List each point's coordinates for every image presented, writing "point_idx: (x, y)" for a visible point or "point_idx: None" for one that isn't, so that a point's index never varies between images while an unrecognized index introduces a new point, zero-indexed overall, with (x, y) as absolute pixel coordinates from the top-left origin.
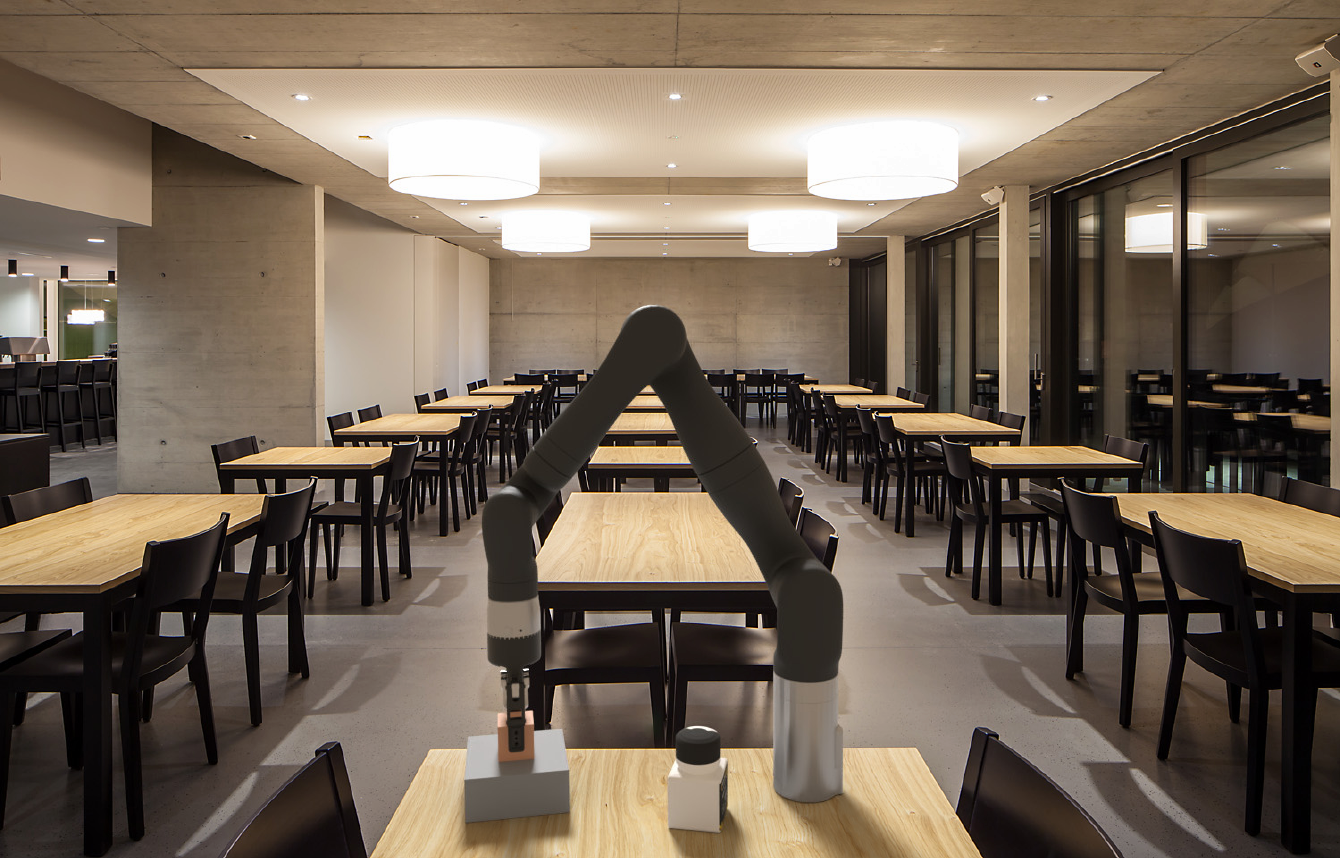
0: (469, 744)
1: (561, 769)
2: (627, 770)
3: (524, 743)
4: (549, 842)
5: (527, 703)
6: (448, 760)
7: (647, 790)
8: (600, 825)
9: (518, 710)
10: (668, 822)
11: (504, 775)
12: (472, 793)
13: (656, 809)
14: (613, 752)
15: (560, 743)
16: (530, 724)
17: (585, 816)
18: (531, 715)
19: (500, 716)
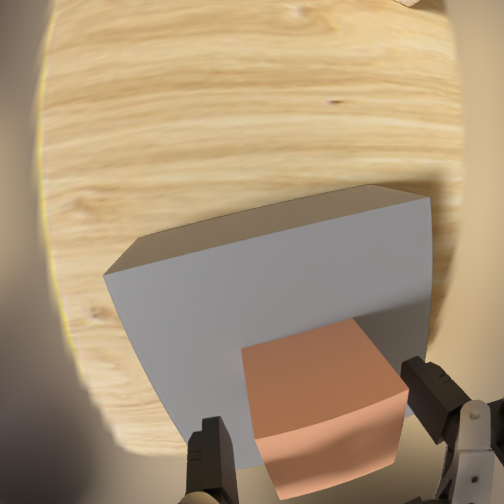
0: (250, 465)
1: (425, 221)
2: (152, 64)
3: (427, 366)
4: (452, 212)
5: (494, 455)
6: (153, 443)
7: (263, 14)
8: (412, 118)
9: (226, 469)
10: (414, 3)
11: (424, 356)
12: None
13: (347, 8)
14: (55, 123)
15: (234, 258)
16: (407, 398)
17: (383, 148)
18: (314, 428)
19: (308, 489)
